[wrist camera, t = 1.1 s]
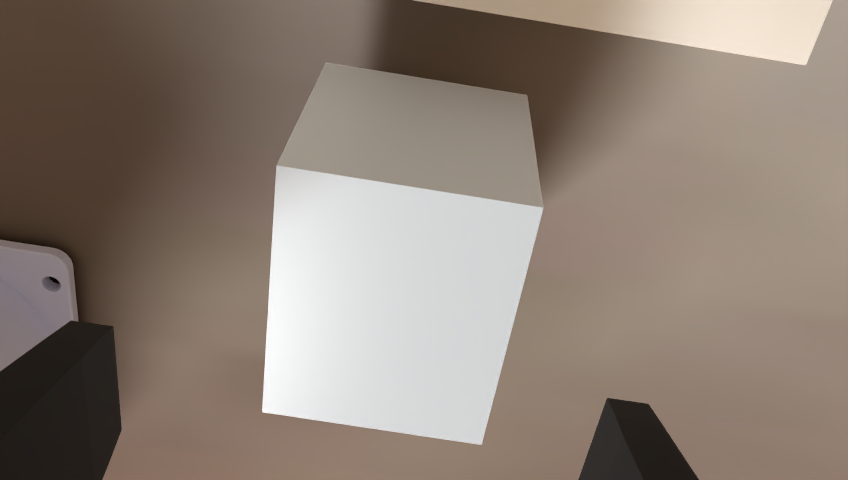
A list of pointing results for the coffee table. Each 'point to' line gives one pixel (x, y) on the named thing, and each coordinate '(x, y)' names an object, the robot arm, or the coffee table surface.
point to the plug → (399, 252)
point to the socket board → (683, 21)
